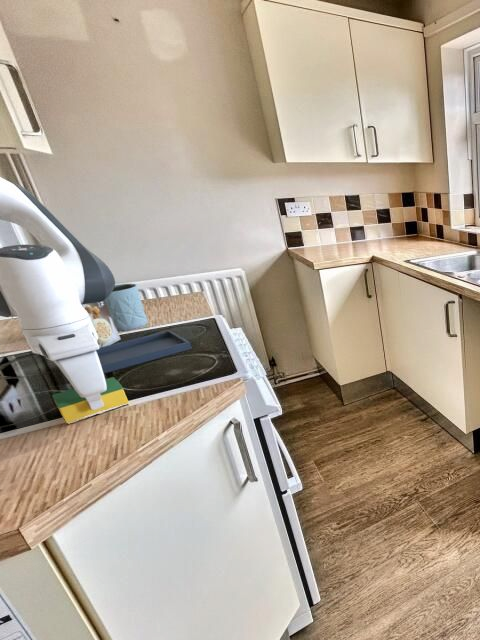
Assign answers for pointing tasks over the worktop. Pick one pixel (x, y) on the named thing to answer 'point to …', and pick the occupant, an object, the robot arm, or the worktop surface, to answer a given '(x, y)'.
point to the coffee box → (102, 323)
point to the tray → (140, 350)
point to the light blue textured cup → (126, 307)
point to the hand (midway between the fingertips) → (93, 402)
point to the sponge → (79, 407)
